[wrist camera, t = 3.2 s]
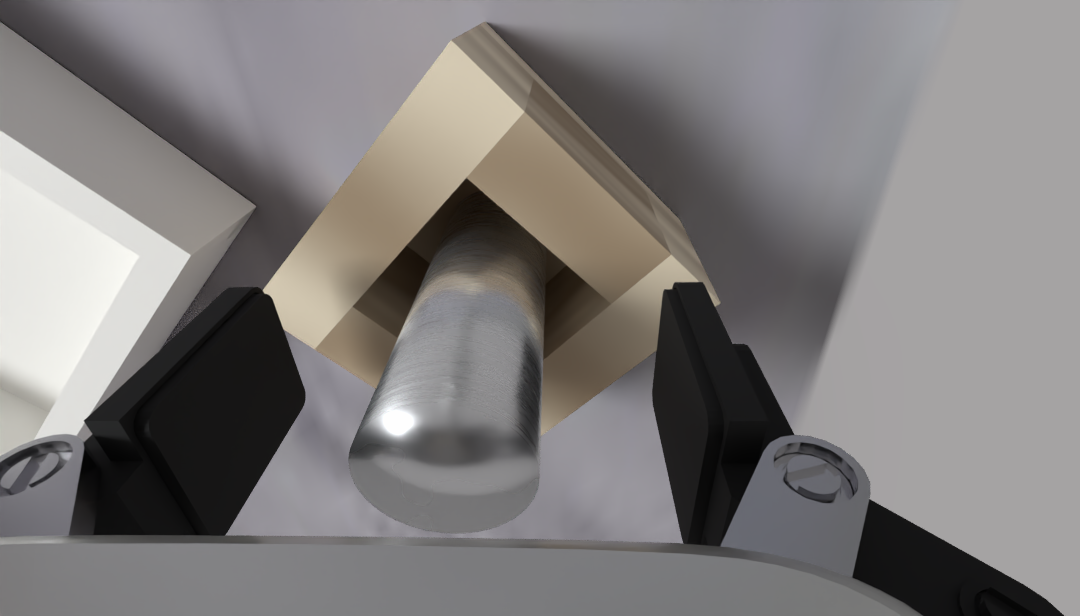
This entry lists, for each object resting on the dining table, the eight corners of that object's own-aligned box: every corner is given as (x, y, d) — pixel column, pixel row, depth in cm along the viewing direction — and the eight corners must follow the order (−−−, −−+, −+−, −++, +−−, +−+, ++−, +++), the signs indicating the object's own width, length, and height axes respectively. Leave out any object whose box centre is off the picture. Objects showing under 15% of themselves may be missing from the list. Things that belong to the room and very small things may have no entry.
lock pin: (492, 166, 15) (425, 370, 7) (567, 235, 16) (578, 475, 8) (428, 237, 16) (312, 475, 8) (502, 295, 17) (459, 554, 9)
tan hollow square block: (485, 21, 14) (451, 39, 9) (679, 219, 16) (720, 302, 12) (327, 225, 17) (249, 307, 13) (511, 362, 20) (498, 467, 15)
